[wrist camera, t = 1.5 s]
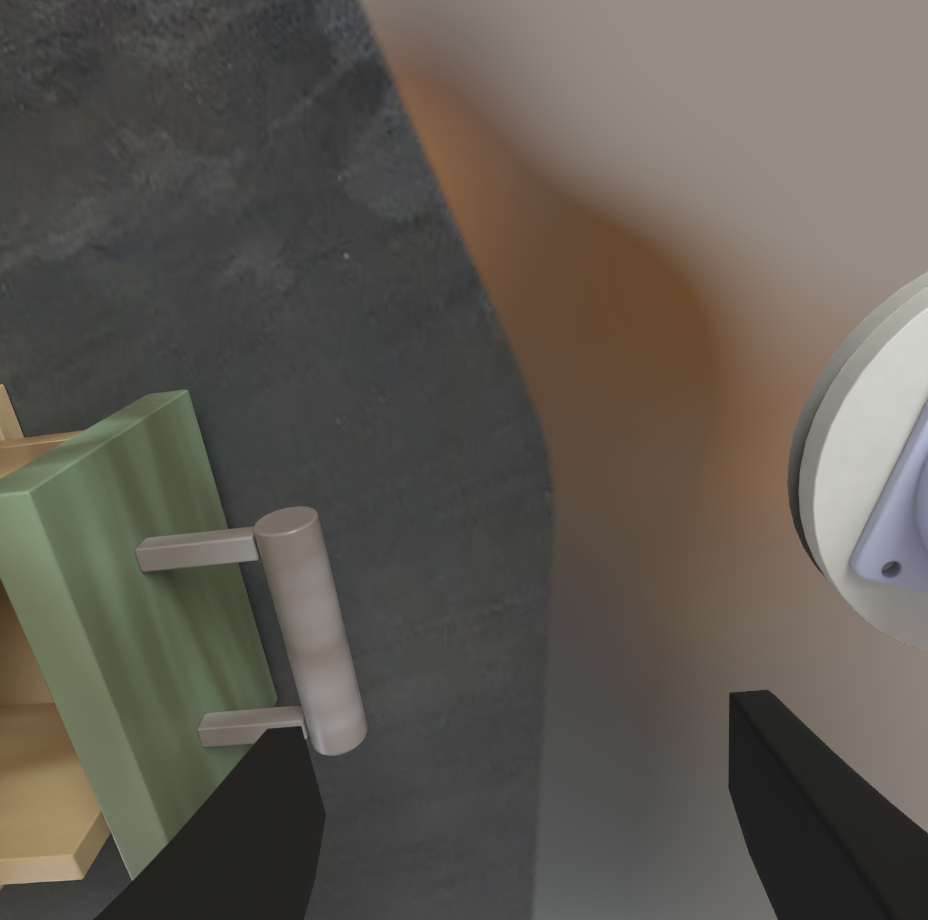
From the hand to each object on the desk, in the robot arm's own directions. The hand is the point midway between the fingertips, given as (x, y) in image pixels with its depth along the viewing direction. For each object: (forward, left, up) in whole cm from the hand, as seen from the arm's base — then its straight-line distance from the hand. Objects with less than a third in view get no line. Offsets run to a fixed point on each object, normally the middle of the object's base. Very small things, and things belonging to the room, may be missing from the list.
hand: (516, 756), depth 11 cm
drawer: (+11, +4, -8) cm, 15 cm away
